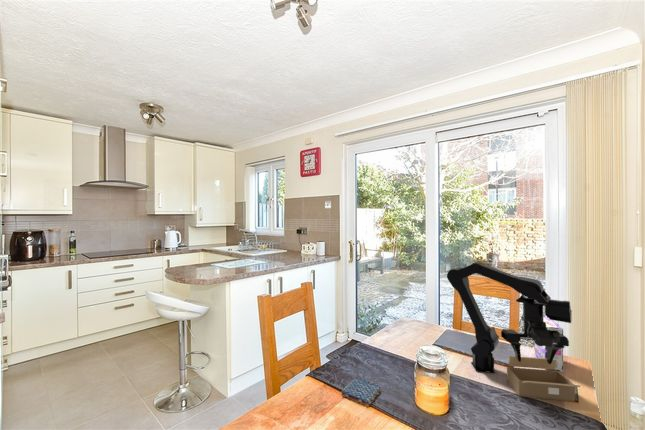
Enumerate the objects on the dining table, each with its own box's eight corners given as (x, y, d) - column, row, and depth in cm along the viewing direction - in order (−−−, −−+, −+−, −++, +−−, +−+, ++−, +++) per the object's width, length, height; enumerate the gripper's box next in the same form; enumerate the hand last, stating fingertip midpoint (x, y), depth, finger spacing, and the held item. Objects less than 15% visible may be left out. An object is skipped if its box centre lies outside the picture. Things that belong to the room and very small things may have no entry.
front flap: (522, 381, 96) (522, 382, 96) (527, 380, 93) (527, 382, 93) (572, 385, 94) (573, 387, 93) (580, 385, 90) (580, 386, 90)
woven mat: (339, 397, 98) (339, 390, 98) (355, 382, 106) (355, 376, 106) (368, 409, 92) (368, 402, 92) (382, 392, 100) (382, 386, 100)
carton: (519, 396, 97) (519, 381, 97) (507, 381, 106) (507, 366, 106) (576, 402, 94) (576, 386, 94) (559, 385, 103) (559, 371, 103)
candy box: (564, 372, 111) (564, 328, 111) (545, 369, 113) (545, 326, 113) (550, 356, 124) (550, 316, 124) (533, 353, 126) (533, 315, 126)
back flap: (554, 369, 103) (553, 368, 104) (556, 360, 102) (555, 359, 102) (509, 366, 106) (508, 365, 106) (510, 356, 105) (509, 355, 105)
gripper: (513, 322, 97) (514, 371, 96) (579, 326, 94) (580, 376, 93) (500, 312, 108) (501, 356, 107) (558, 315, 104) (559, 361, 104)
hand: (534, 362), depth 103 cm, fingers open, 9 cm apart
